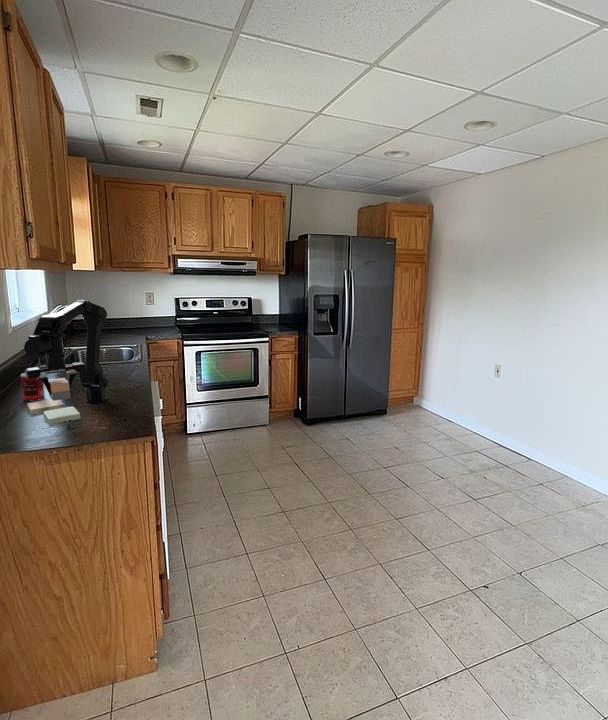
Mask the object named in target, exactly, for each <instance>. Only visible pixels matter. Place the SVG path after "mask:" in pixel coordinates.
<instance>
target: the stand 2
mask: <svg viewBox="0 0 608 720" xmlns="http://www.w3.org/2000/svg"><path fill="white" fill-rule="evenodd" d="M42 414H43V418H44V417H45V418H44V419H45V421H46V420H47V421H46V422H47V424H48V423H49V424H50V425H55V424H54V423H56V424H60V423H59V422H61V423H64V421H66V422H70V421H69V420H71V421H75V420H81V413H80V412H79V411H78V410H77V409H76V407H75V406H68V407H67V406H66V407H64V408H60V409H54V410H48V411H43V413H42ZM49 424H48V425H49Z"/></svg>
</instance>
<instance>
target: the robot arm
mask: <svg viewBox="0 0 608 720" xmlns="http://www.w3.org/2000/svg"><path fill="white" fill-rule="evenodd" d="M107 311H108V310H106V309H105V307H103V306H100V305H99V304H96V303H92V302H91V301H89V300H85V299H77V300H75V301H74V302H73V303H71V304H69V305H68V306H66V307H64V308H63V309H61V310H59V311H57V312H55V313H49V314H45V315H42V316H40V317H39V318H38V322H37V324H36V326H35V329H34V331H33V335H29V336H28V337H27V339H28V340H26V342H25V343H24V345H23V349H24V352H25V354H27V356H29V357H33V358H34V357H37V358H38V363H39V364H38V365H39V366H40V367H41V366H45V368H41V369H40V368H39V367H38V366H37V367H36V366H35V367H27V368H26V369H25V370H24V373H25V375H26V377H27V378H28V379H33V378H37V379H38V380H42V382H43V386H45V387H44V388H45V389H46V391H47V392H48V395H49V394H50V395H51V389H50V385H49V381H48V380H49V377H47V375H49V374H55V373H63V372H66V373H65V374H66V380H67V381H68V382H69V388H70V389H71V387H72V384H73V382H74V379H75V377H76V376H78V377H79V381H80V383H81V386H82V388H83V389H84V388H86V390H85V396H86V401H85V403H88V404H89V403H90V404H101V403H103V402H105V401H107V400H108V399H109V398H108V397H106V396H107V395H106V388H107V387H109V382H110V381H109V380H108V378H106V376H105V375H104V370H103V367H102V366H101V364H100V356H101V355H100V354H101V353H100V352H101V339H102V338H101V337H102V328H103V327H104V326H105V324H106V322H107V317H108V312H107ZM79 316H82V317H83V322H84V323H85V325H86V327H87V333H86V348H85V349H86V351H85V363H84V362H83V361H79V362H72V363H71V365H66V359H65V352H64V351H65V350H64V341H63V338H65V337H66V336H67V335H66V333H64V332H63V331H64V330H65V329H66V328H67V327H68V323H70V321H72V320H73V319H75V318H76V317H79ZM44 355H45V356H44Z"/></svg>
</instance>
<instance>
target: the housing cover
mask: <svg viewBox="0 0 608 720" xmlns="http://www.w3.org/2000/svg"><path fill="white" fill-rule="evenodd" d="M48 381H49V385H50V389H51V392H52V393H54V392H61V391H67V390H70V391H71V388H69V382H68V381H67V378H65V377H61V378H59V377H58V378H54V379H53V378H51V379H48Z"/></svg>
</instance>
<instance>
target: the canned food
mask: <svg viewBox="0 0 608 720" xmlns="http://www.w3.org/2000/svg"><path fill="white" fill-rule="evenodd" d="M20 384H21V390H22V398H23V400H24V401H25V400H37V401H39V400H38V399H41V400H43V399H44V398H45V389H44V388H45V387H44V386H45V385H44V383H43V382H42V380H38V379H37V378H33V379H28V378H27V377H26V375H25V372H23V373H21V374H20ZM42 398H43V399H42Z"/></svg>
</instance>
